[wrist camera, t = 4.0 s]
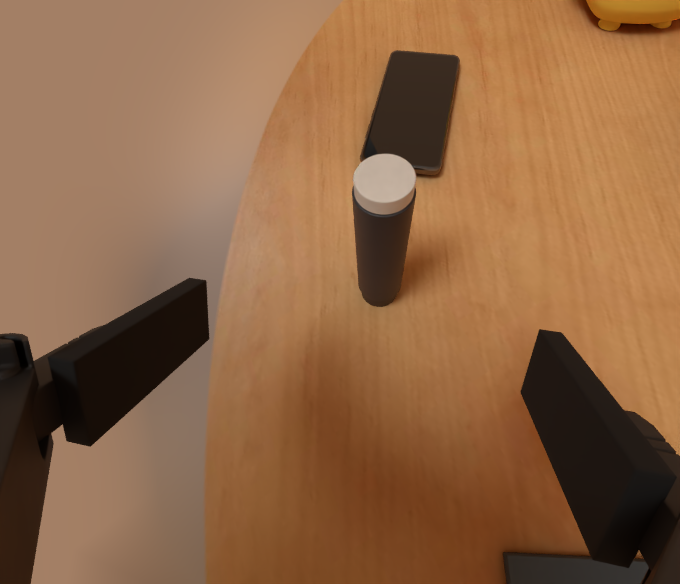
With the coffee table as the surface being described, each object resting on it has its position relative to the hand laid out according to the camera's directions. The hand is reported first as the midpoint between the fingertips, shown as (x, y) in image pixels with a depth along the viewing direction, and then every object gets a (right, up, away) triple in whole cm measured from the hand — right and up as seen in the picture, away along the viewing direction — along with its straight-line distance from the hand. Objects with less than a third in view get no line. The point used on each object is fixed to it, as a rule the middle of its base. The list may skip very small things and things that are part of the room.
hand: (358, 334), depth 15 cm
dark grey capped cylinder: (+2, +2, +15) cm, 15 cm away
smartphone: (+6, +19, +23) cm, 30 cm away
